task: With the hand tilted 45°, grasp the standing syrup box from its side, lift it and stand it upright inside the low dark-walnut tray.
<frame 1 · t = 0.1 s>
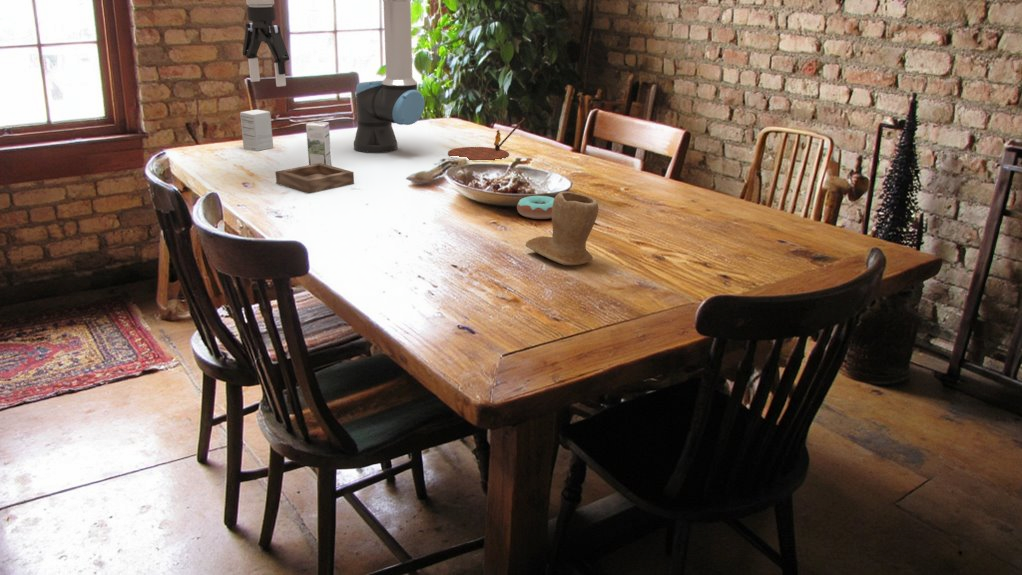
hand: (268, 83, 243), 28 cm above the table, tool pointing down, fingers open, 13 cm apart
supplement box: (258, 148, 292), on the table
walnut tray: (315, 183, 248), on the table
syrup box: (320, 169, 265), on the table
brown hollow piece: (564, 258, 190), on the table
incense holder: (489, 154, 292), on the table
donut: (539, 215, 223), on the table
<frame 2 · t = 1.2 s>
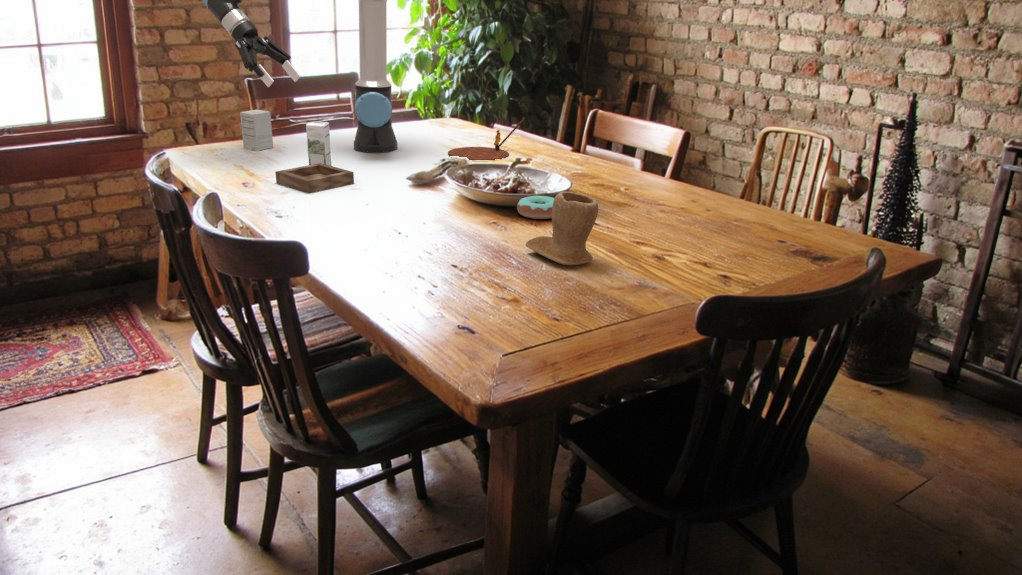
hand: (284, 81, 259), 26 cm above the table, tool tilted 45°, fingers open, 13 cm apart
nothing on the table moved.
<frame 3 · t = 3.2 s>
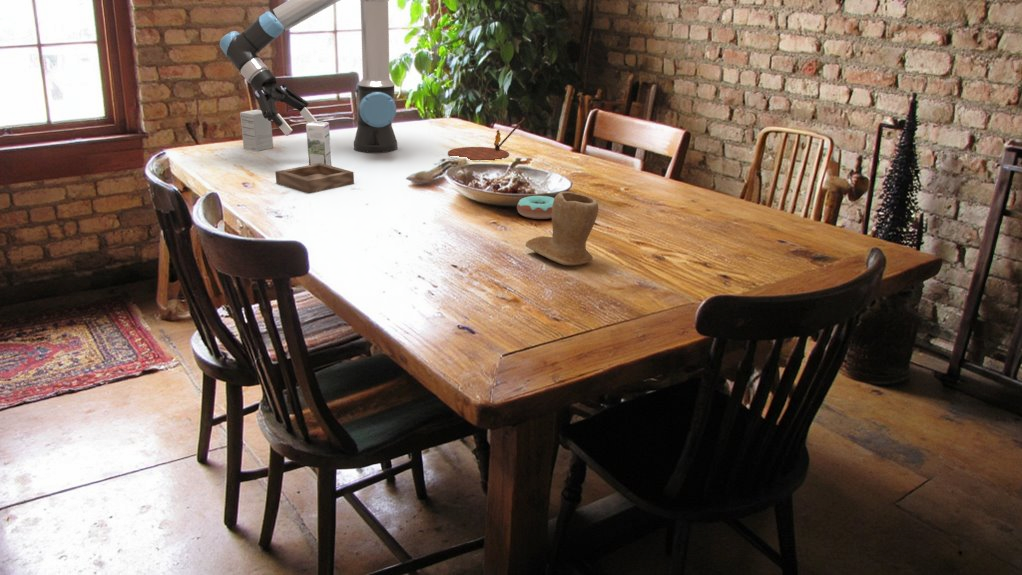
hand: (303, 129, 262), 12 cm above the table, tool tilted 45°, fingers open, 13 cm apart
nothing on the table moved.
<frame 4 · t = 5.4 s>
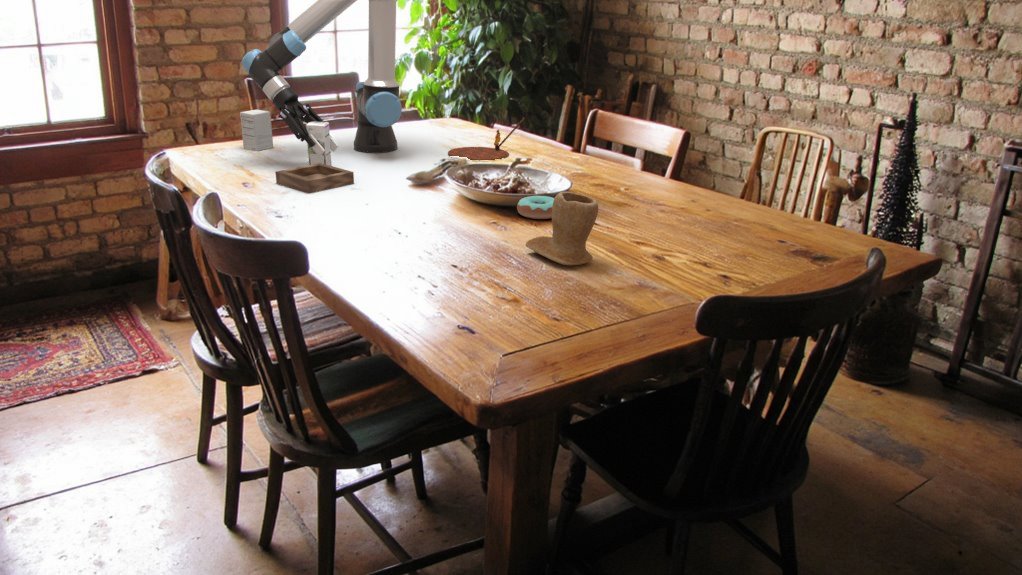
hand: (328, 151, 262), 6 cm above the table, tool tilted 45°, fingers closed on syrup box, 7 cm apart
syrup box: (320, 169, 265), on the table, touching gripper
everything else where it was.
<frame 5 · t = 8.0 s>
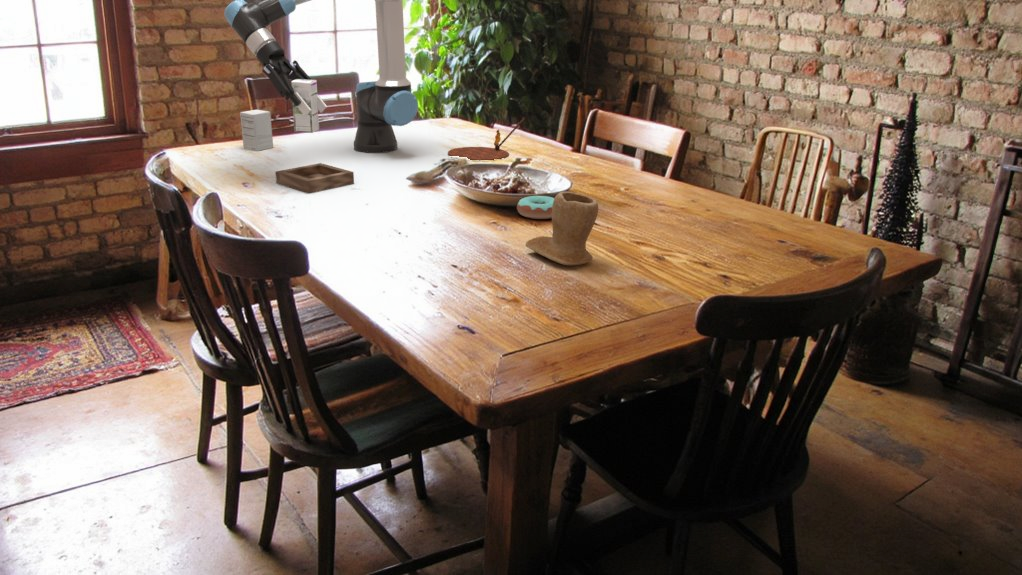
hand: (316, 111, 242), 21 cm above the table, tool tilted 45°, fingers closed on syrup box, 7 cm apart
syrup box: (306, 131, 245), point 15 cm above the table, touching gripper
everything else where it was.
when the fingers open (8 cm above the table, at t = 10.9 s): syrup box drops 1 cm, resting on walnut tray.
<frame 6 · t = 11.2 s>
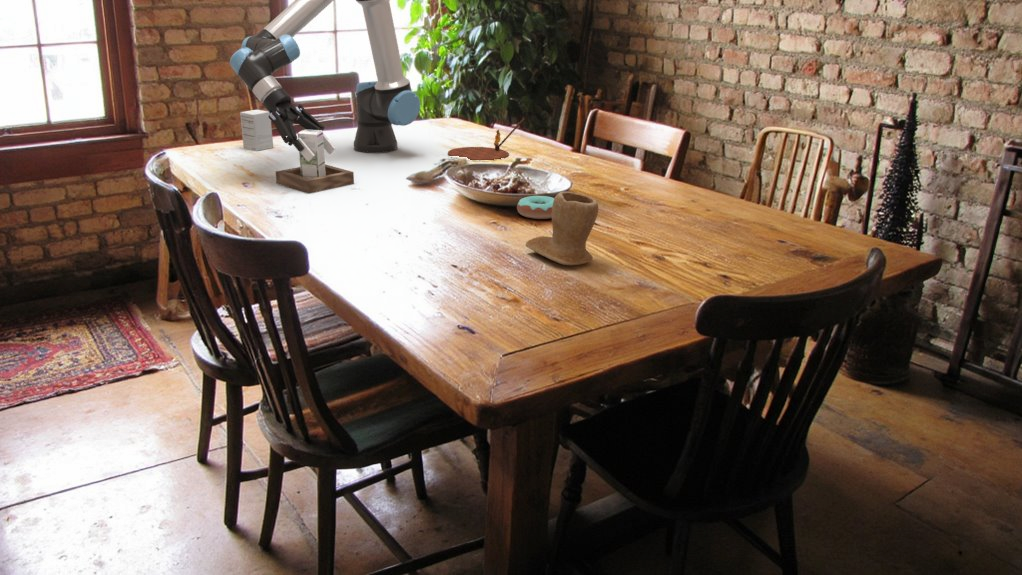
hand: (322, 155, 244), 9 cm above the table, tool tilted 45°, fingers open, 10 cm apart
syrup box: (313, 180, 248), point 1 cm above the table, touching walnut tray
everything else where it was.
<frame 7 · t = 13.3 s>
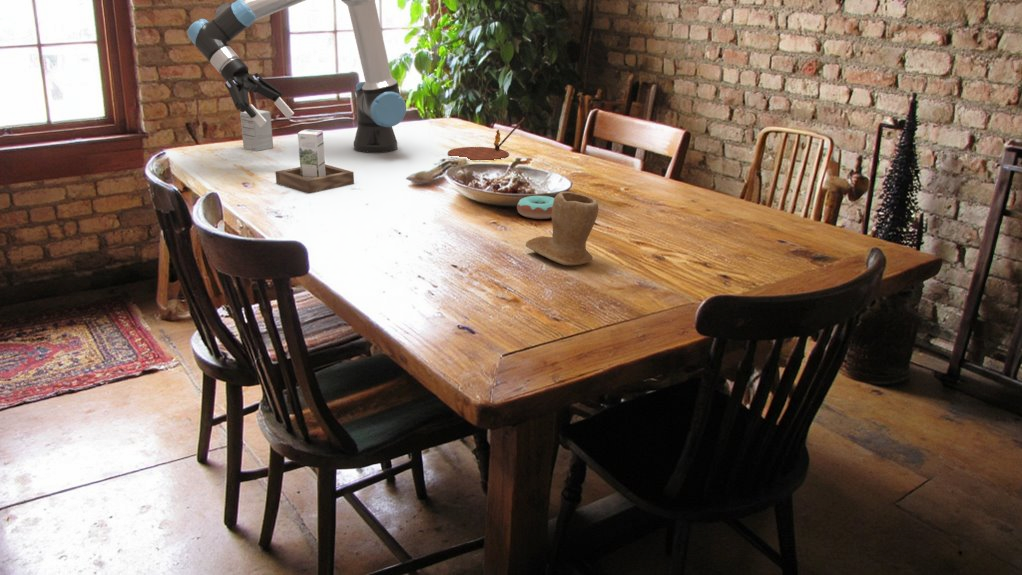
hand: (277, 120, 251), 17 cm above the table, tool tilted 45°, fingers open, 13 cm apart
nothing on the table moved.
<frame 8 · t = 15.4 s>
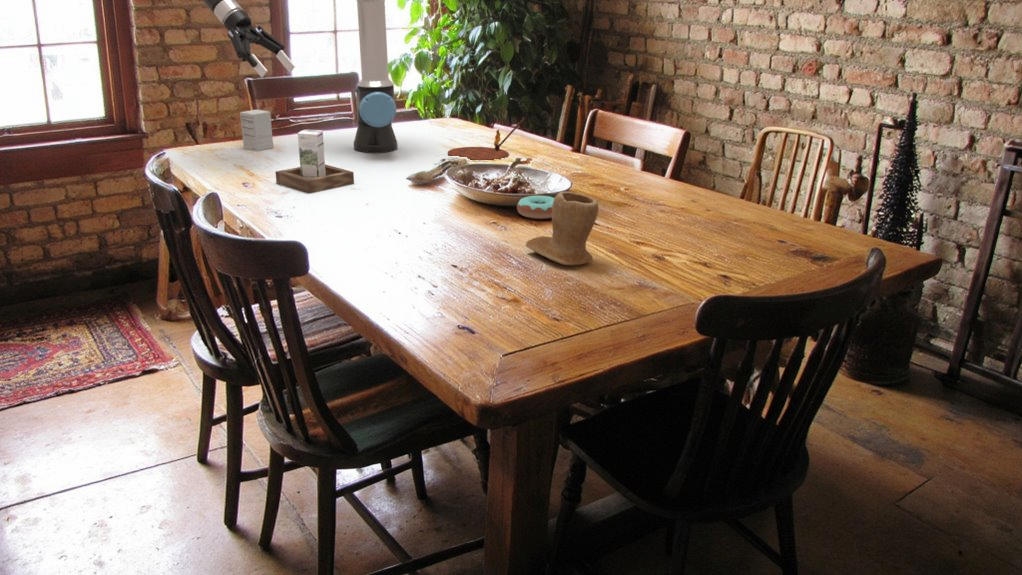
hand: (278, 71, 254), 30 cm above the table, tool tilted 45°, fingers open, 13 cm apart
nothing on the table moved.
at the end: syrup box inside the target area on the walnut tray (0.4 cm from its centre), point 0.8 cm above the walnut tray's base; syrup box tilted 0°; the gripper is holding nothing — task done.
